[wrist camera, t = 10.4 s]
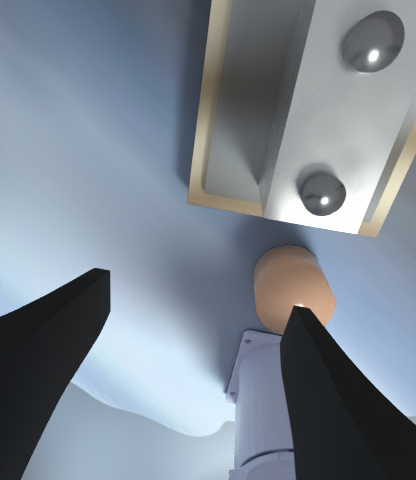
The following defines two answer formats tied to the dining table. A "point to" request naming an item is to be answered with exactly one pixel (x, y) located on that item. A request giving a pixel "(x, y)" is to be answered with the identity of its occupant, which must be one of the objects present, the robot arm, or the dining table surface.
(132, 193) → the dining table surface
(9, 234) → the dining table surface
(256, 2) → the birch plinth
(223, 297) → the dining table surface
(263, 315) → the peach rounded cylinder
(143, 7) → the dining table surface
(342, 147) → the alloy housing
